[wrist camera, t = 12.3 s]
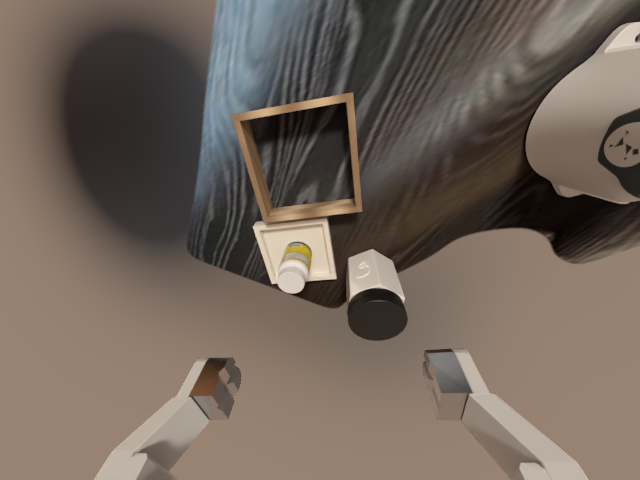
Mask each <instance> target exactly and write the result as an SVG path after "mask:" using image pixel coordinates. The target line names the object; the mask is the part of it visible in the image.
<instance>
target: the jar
mask: <svg viewBox="0 0 640 480" xmlns="http://www.w3.org/2000/svg"><path fill="white" fill-rule="evenodd" d="M346 296H347V316H348V323H349V327H350V328H351V330H352V331H353V332H354V333H355V334H356V335H358V336H360V337H361V338H364V339H368V340H375V341H376V340H377V341H380V340H386V339H390V338H393V337H395V336H397V335H398V334H399V333H401V332H402V331H403V330H404V328H405V327H406V324H407V320H408V319H407V314H406V311H405V307H404V300H405V297H404V294H403V291H402V288H401V285H400V282H399V279H398V276H397V273H396V270H395V267H394V264H393V261H392V260H390V259H388V258H387V257H385V256H383V255H382V254H380V253H378V252H377V251H375V250H373V249H371V250H368V251H365V252H363V253H360V254H358V255H355V256H352V257H350V258H348V263H347V272H346Z"/></svg>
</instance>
